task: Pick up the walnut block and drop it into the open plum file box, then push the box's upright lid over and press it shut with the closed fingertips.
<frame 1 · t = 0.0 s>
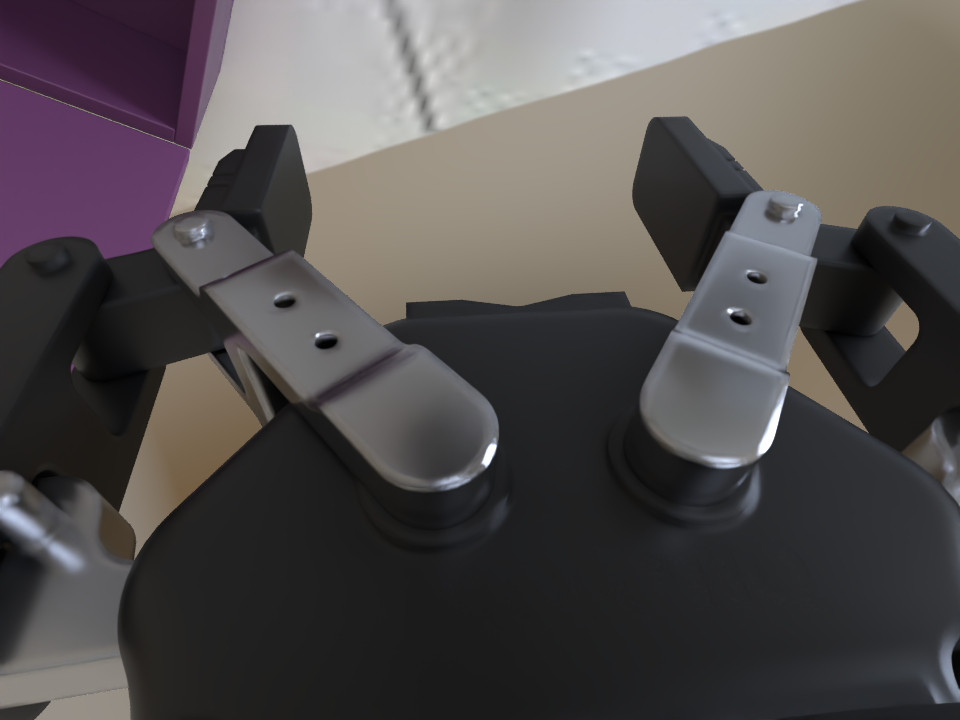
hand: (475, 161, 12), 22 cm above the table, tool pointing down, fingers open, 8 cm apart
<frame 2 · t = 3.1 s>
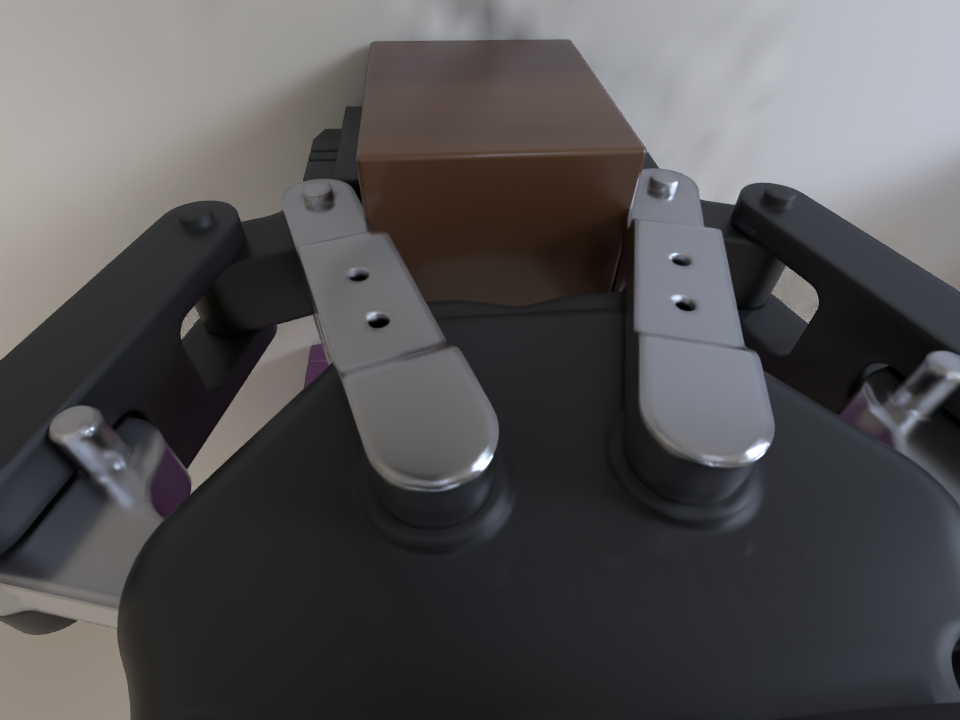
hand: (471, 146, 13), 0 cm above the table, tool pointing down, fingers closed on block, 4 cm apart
block: (471, 139, 13), on the table, touching gripper
file box: (491, 453, 23), on the table
when the fingers open (9 cm above the table, at t = 7.5 s): block drops 8 cm, resting on file box.
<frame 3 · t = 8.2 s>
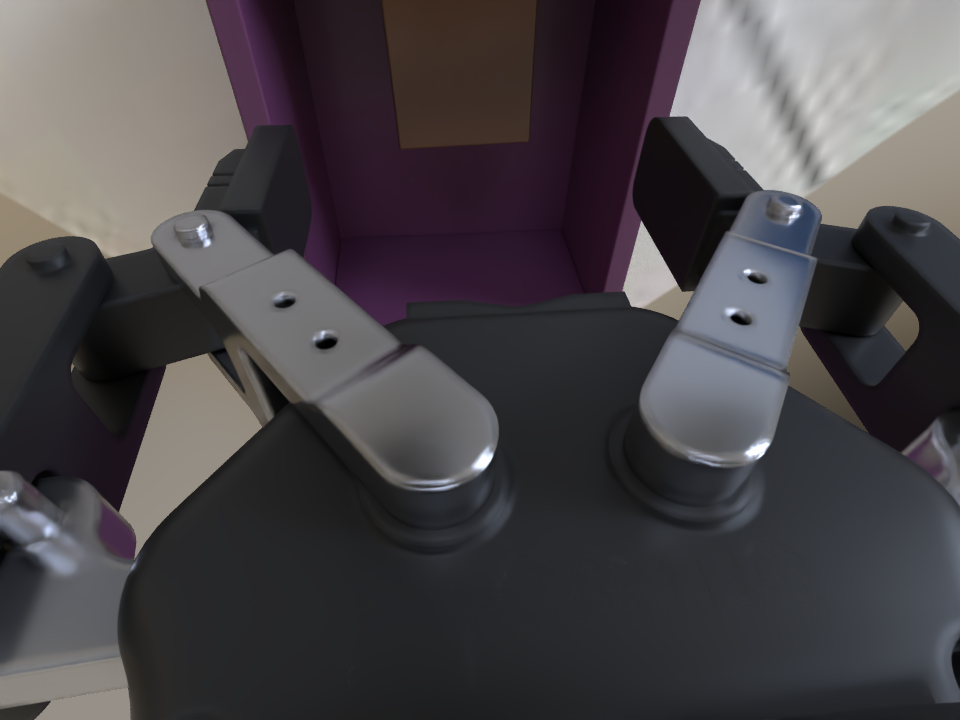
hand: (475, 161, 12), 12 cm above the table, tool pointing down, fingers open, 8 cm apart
block: (451, 25, 20), point 1 cm above the table, touching file box
file box: (449, 89, 22), on the table
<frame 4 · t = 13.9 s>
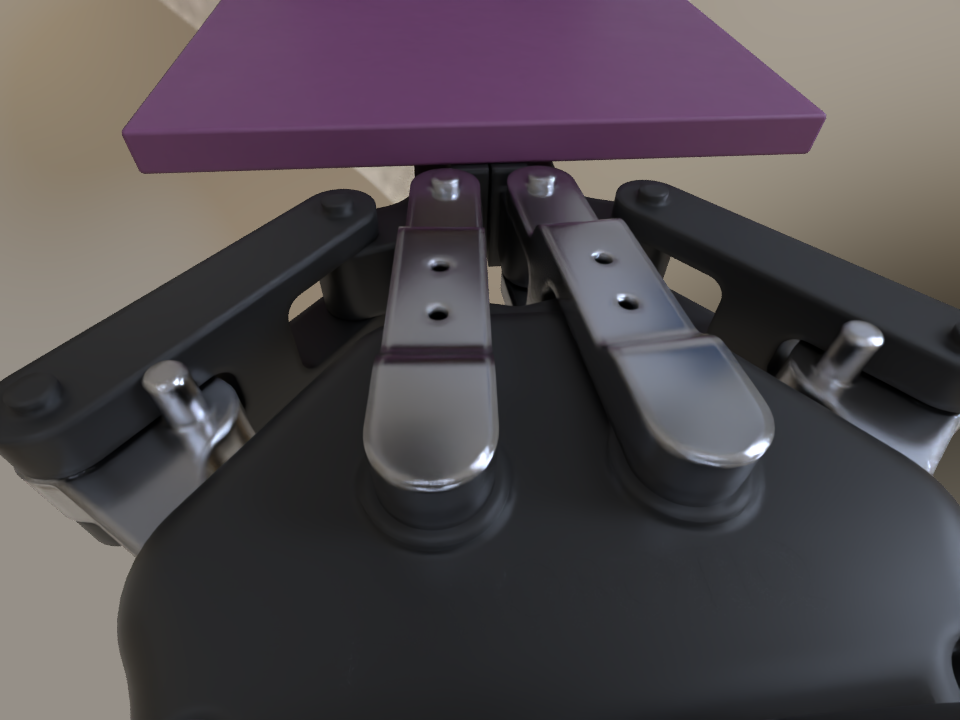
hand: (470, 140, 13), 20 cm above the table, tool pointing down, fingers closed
lid: (460, 13, 15), point 16 cm above the table, hinge at 91.8°
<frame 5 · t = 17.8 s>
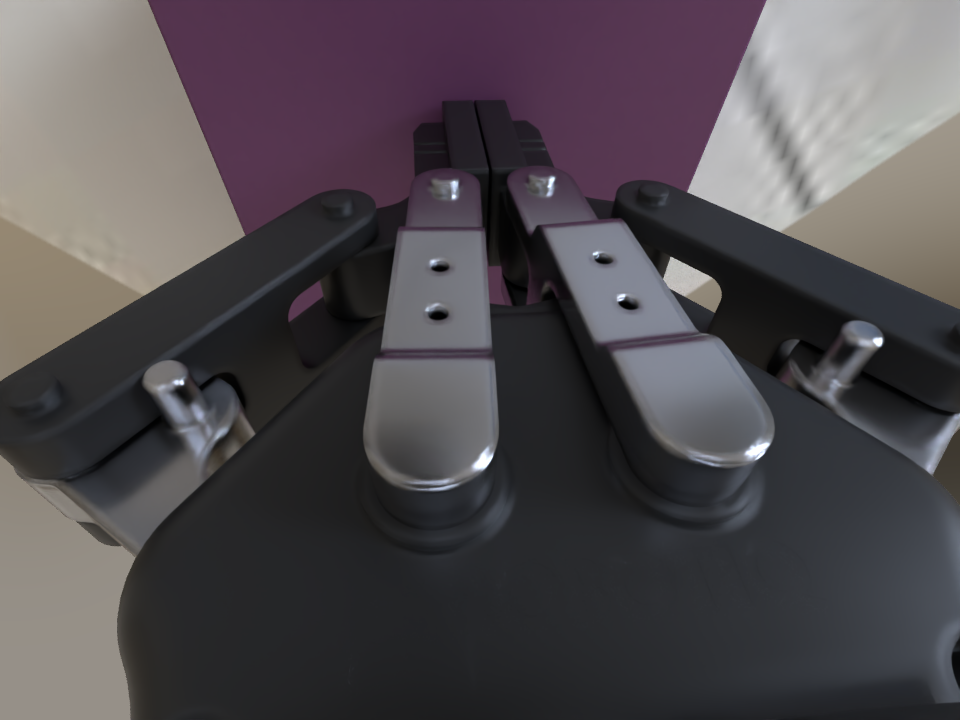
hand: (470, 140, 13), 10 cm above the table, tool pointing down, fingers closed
lid: (466, 236, 16), point 9 cm above the table, hinge at 7.4°, touching gripper
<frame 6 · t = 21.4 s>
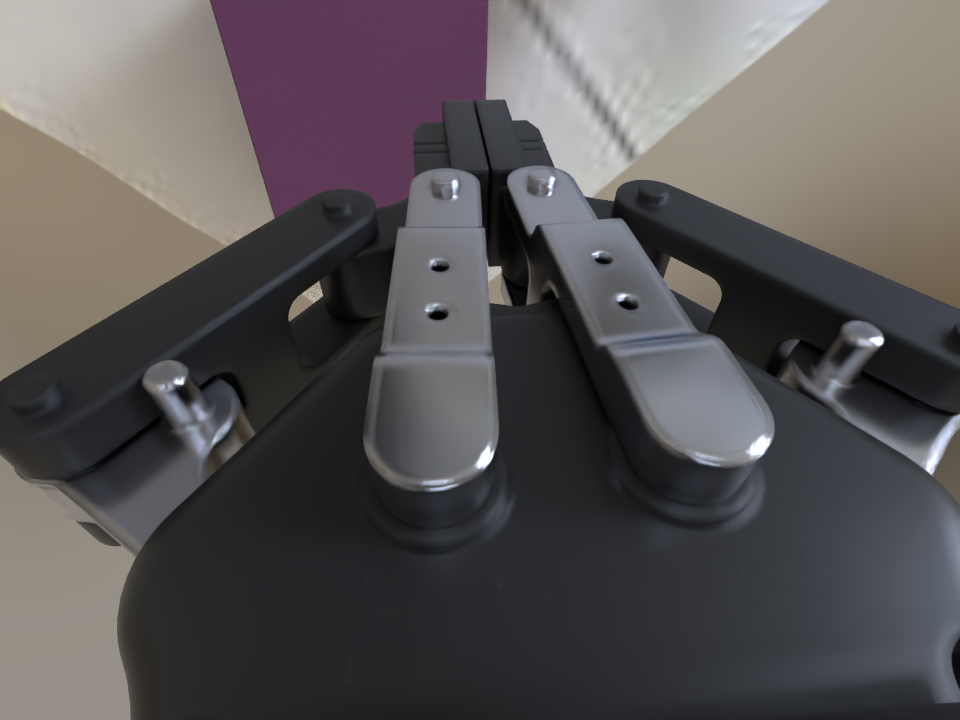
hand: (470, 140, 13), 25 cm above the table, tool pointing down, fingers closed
lid: (371, 144, 30), point 8 cm above the table, hinge at 0.3°
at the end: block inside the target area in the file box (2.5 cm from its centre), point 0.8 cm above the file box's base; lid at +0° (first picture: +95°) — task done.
